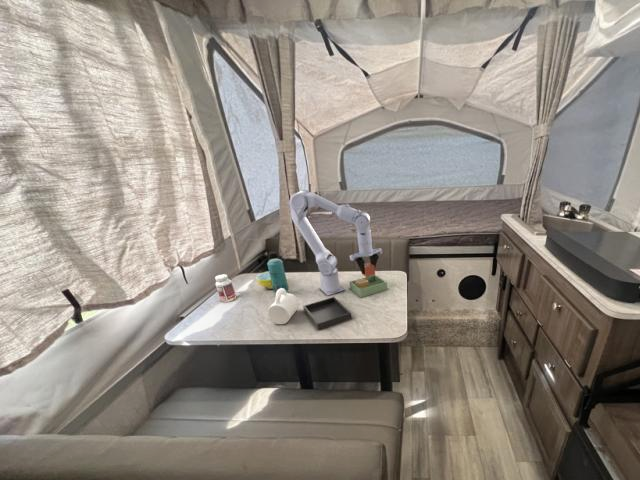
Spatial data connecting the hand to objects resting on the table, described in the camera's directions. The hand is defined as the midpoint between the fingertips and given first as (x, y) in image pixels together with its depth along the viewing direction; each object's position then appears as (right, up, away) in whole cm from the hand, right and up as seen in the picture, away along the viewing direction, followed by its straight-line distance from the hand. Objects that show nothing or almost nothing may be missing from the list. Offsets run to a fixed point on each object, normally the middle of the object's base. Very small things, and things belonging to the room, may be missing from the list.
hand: (368, 272), depth 137 cm
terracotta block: (0, -1, 0) cm, 1 cm away
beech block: (-3, -8, +3) cm, 9 cm away
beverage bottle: (-39, -10, +3) cm, 40 cm away
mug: (-31, -19, -15) cm, 39 cm away
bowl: (-47, -6, +12) cm, 49 cm away
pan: (-15, -18, -15) cm, 28 cm away
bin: (0, -7, +4) cm, 9 cm away
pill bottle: (-63, -12, +2) cm, 64 cm away
